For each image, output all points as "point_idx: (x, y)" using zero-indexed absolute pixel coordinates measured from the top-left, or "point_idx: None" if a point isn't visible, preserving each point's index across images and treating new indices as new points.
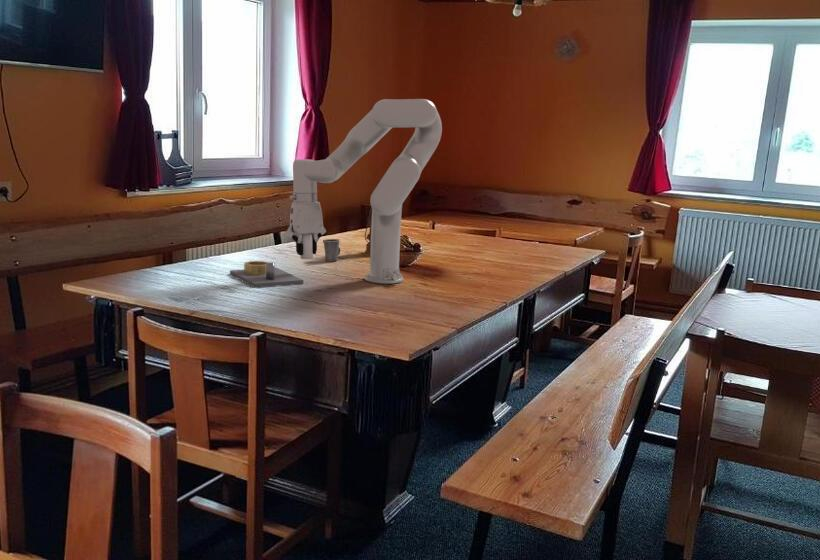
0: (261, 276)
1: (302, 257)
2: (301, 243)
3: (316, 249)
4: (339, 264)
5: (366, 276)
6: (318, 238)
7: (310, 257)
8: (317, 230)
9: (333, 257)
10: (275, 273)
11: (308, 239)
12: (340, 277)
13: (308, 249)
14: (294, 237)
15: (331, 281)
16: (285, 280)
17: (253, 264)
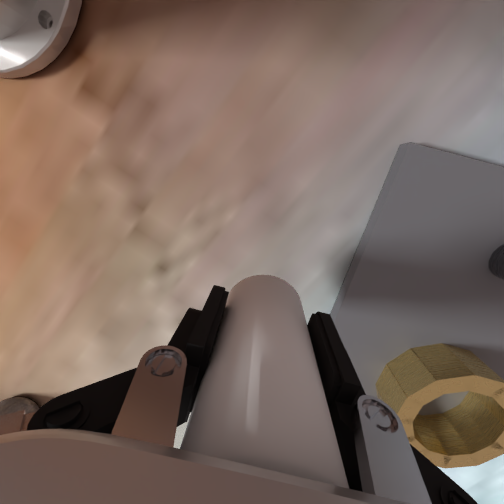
0: (489, 322)
1: (303, 311)
2: (356, 382)
3: (191, 311)
4: (24, 357)
5: (54, 12)
6: (120, 380)
7: (264, 279)
8: (88, 492)
9: (9, 408)
10: (389, 334)
11: (287, 389)
12: (152, 163)
13: (282, 313)
14: (467, 500)
15: (246, 110)
16: (490, 187)
17: (433, 441)
